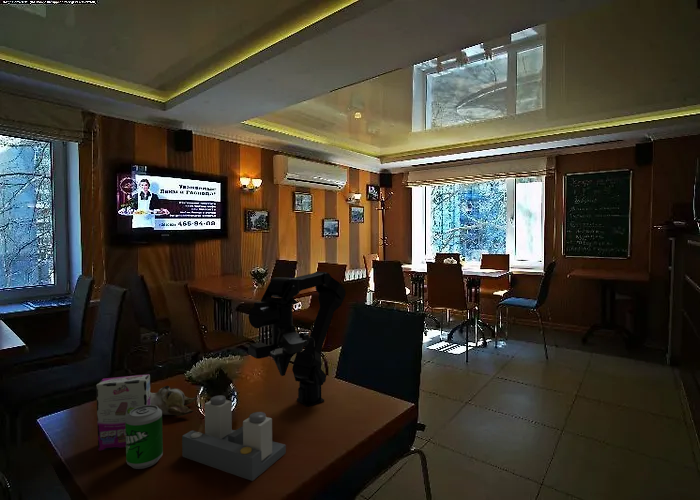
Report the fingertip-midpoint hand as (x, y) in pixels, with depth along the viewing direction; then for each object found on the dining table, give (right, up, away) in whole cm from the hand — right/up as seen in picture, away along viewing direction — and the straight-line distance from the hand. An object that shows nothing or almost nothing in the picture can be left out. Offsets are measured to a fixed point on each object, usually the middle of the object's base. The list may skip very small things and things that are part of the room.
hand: (282, 375), depth 113 cm
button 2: (-2, -11, -23) cm, 26 cm away
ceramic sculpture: (-34, -12, +2) cm, 36 cm away
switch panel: (-8, -13, -19) cm, 25 cm away
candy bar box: (-37, -13, -14) cm, 42 cm away
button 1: (-14, -10, -14) cm, 22 cm away
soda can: (-28, -13, -22) cm, 38 cm away
